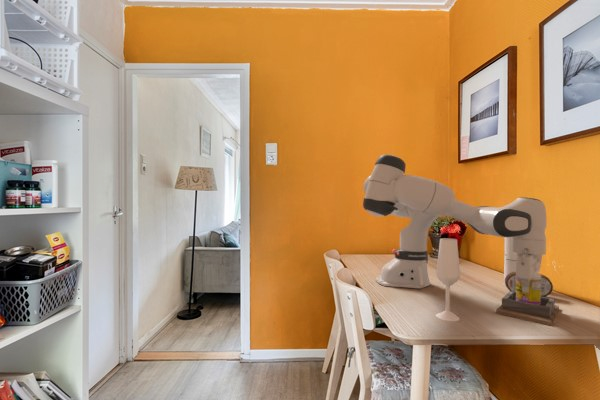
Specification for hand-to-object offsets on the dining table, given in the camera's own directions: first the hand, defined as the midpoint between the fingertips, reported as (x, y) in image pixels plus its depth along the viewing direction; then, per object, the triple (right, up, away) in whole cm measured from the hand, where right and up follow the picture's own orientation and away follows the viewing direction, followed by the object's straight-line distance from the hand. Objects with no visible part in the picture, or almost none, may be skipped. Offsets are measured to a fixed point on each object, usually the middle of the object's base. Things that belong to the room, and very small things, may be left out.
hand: (528, 289), depth 105 cm
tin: (+13, -7, +18) cm, 23 cm away
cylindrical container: (+17, -7, +33) cm, 38 cm away
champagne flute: (-29, -7, -6) cm, 30 cm away
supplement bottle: (0, -5, 0) cm, 5 cm away
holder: (0, -7, 0) cm, 7 cm away
